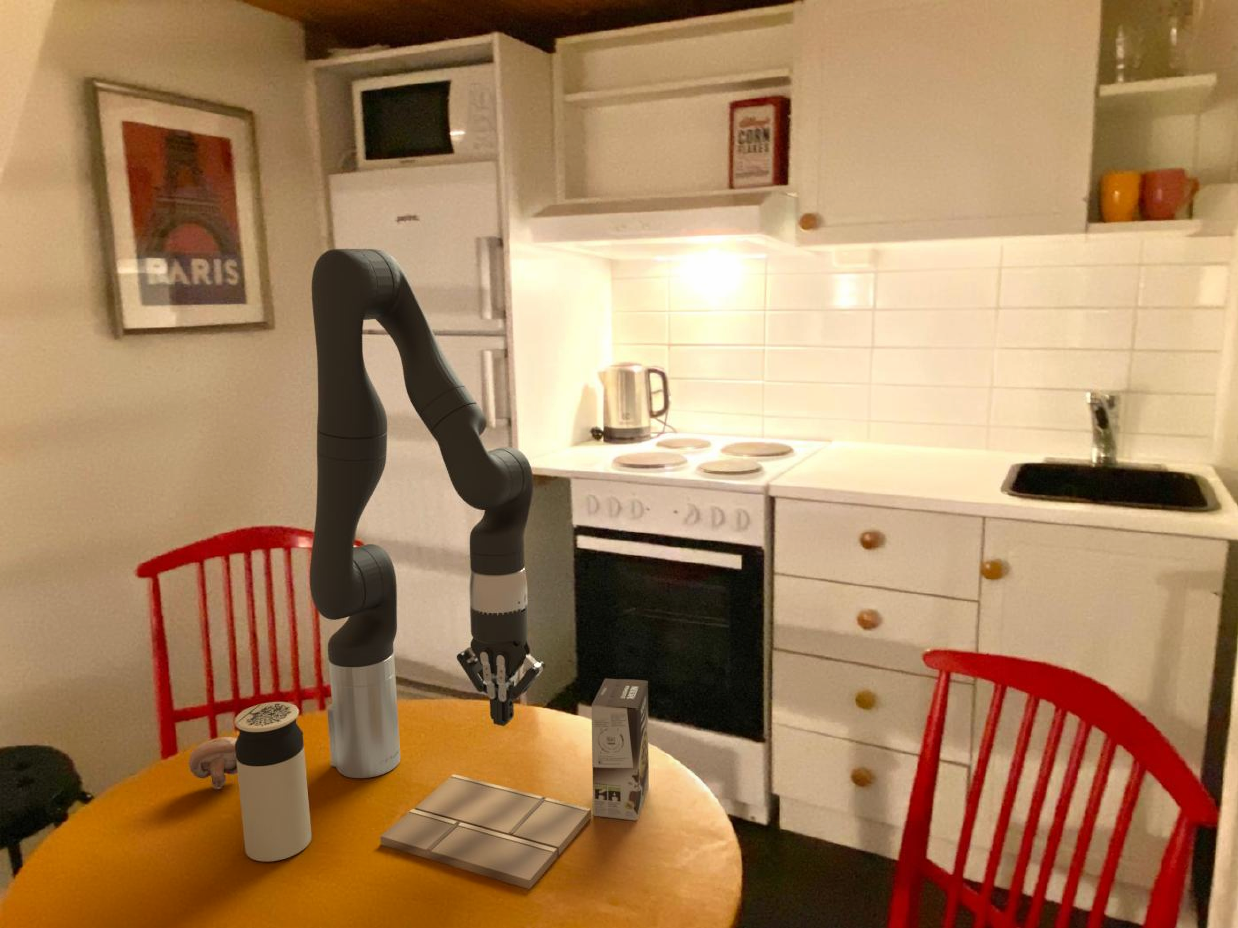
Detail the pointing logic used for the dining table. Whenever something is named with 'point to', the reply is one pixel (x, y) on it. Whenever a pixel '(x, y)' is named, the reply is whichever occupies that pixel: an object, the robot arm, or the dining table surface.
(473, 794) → the board
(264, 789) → the travel mug
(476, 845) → the laid plank
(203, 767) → the mushroom
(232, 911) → the dining table surface
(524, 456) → the robot arm
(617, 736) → the coffee box
